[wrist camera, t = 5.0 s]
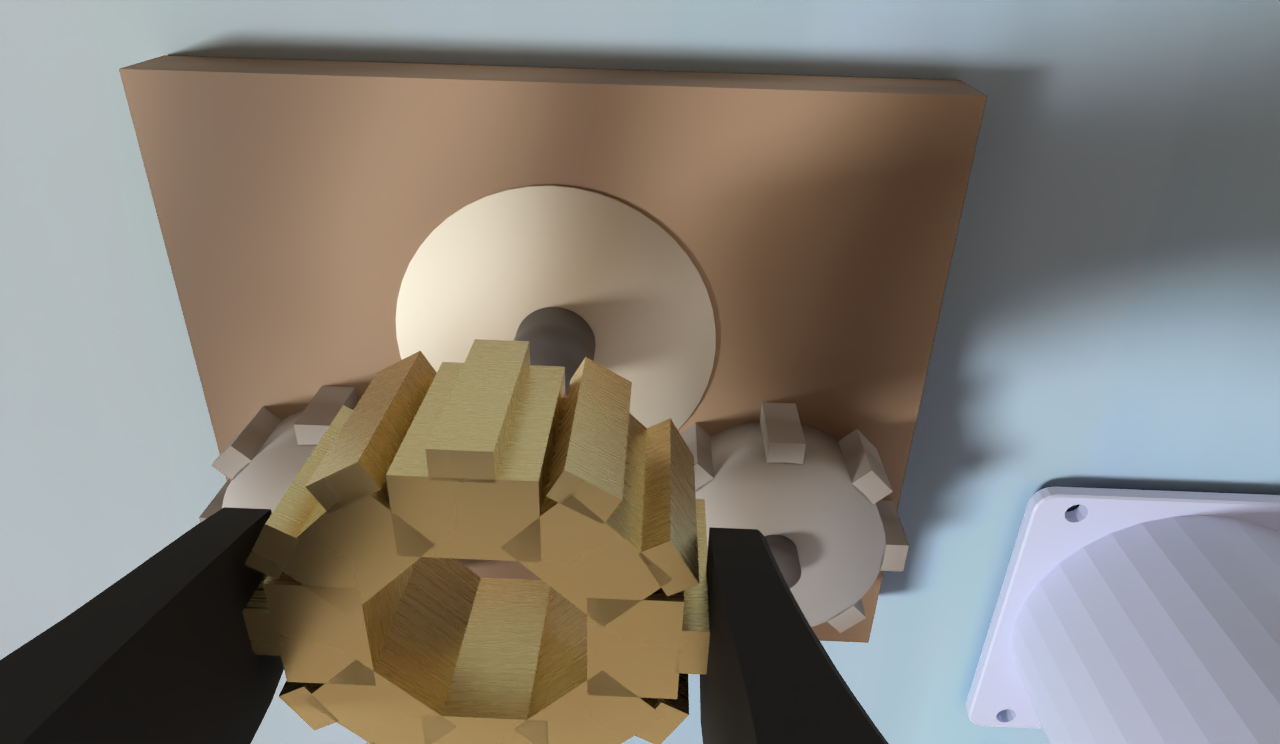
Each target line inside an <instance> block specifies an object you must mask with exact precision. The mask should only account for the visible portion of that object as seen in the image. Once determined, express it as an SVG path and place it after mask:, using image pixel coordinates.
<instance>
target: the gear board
mask: <svg viewBox="0 0 1280 744" xmlns="http://www.w3.org/2000/svg"><path fill="white" fill-rule="evenodd" d="M119 71H120V75H121V79H122V82H123V86H124V90H125V94H126V98H127V101H128V105H129V109H130V113H131V117H132V121H133V124H134V128H135V132H136V136H137V140H138V143H139V147H140V151H141V155H142V159H143V162H144V166H145V170H146V174H147V178H148V182H149V185H150V189H151V193H152V197H153V201H154V204H155V208H156V212H157V216H158V220H159V224H160V227H161V231H162V235H163V239H164V243H165V246H166V250H167V254H168V258H169V262H170V265H171V269H172V273H173V277H174V281H175V285H176V288H177V292H178V296H179V300H180V304H181V307H182V311H183V315H184V319H185V323H186V327H187V330H188V334H189V338H190V342H191V346H192V349H193V353H194V357H195V361H196V365H197V369H198V372H199V376H200V380H201V384H202V388H203V391H204V395H205V399H206V403H207V407H208V410H209V414H210V418H211V422H212V426H213V430H214V433H215V437H216V441H217V445H218V449H219V452H220V456H219V457H218V458H217V459H216V460H215V462H214V463H213V464H212V466H213V467H214V468H216V469H217V470H219V471H220V472H221V473H223V474H224V475H226V479H227V482H226V483H225V485H224V486H223V487H222V489H221V490H220V491H219V493H218V494H217V495H216V496H215V498H214V499H213V500H212V502H211V503H210V504H209V506H208V507H207V508H206V509H205V511H204V512H203V513H202V515H201V516H200V517H199V519H200V522H202V521H204V520H205V519H207V518H208V517H210V516H211V515H213V514H214V513H216V512H218V511H219V510H221V509H222V508H224V507H228V508H252V509H271V511H272V513H273V511H274V510H275V508H276V507H277V505H278V503H279V502H280V500H281V499H282V497H283V496H284V494H285V493H286V491H287V490H288V488H289V487H290V485H291V484H292V482H293V481H294V479H295V478H296V476H297V475H298V473H299V471H300V470H301V468H302V467H303V465H304V464H305V462H306V461H307V459H308V458H309V456H310V455H311V453H312V452H313V450H314V449H315V447H316V446H317V444H318V443H319V441H320V440H321V438H322V436H323V435H324V433H325V432H326V430H327V429H328V427H329V426H330V424H331V423H332V421H333V420H334V418H335V417H336V415H337V414H338V412H339V411H340V409H341V408H342V406H343V405H344V406H346V407H348V408H350V409H352V410H354V408H355V407H356V405H357V404H358V402H359V400H360V399H361V397H362V396H363V394H364V393H365V391H366V389H367V388H368V386H369V385H370V383H371V381H372V380H373V378H374V377H375V375H376V373H377V372H379V371H381V370H383V369H385V368H387V367H389V366H391V365H393V364H395V363H397V362H399V361H401V360H403V359H405V358H407V357H409V356H411V355H413V354H414V353H416V352H418V351H421V352H422V353H423V355H424V356H425V357H426V359H427V360H428V361H429V363H430V364H431V365H432V367H433V368H434V370H435V371H436V372H438V370H439V368H440V366H441V364H442V362H457V363H464V362H465V360H466V358H467V356H468V353H469V351H470V349H471V347H472V345H473V342H474V340H475V339H481V340H507V341H529V346H530V365H535V366H560V367H565V398H566V397H567V394H568V389H569V384H570V380H571V378H572V377H573V375H574V374H575V372H576V371H577V369H578V368H579V366H580V365H581V363H582V362H583V360H584V359H585V357H587V358H589V359H590V360H592V361H594V362H596V363H598V364H600V365H601V366H603V367H605V368H607V369H609V370H610V371H612V372H614V373H616V374H618V375H620V376H621V377H623V378H625V379H627V380H629V381H631V382H632V387H631V399H630V412H629V413H630V414H632V415H633V416H634V417H635V418H636V419H637V420H638V421H639V422H640V423H641V424H643V425H644V426H645V427H646V428H649V427H651V426H653V425H656V424H658V423H660V422H662V421H665V420H667V419H669V418H671V420H672V421H673V423H674V425H675V426H676V428H677V430H678V431H679V433H680V435H681V436H682V438H683V439H684V441H685V443H686V444H687V446H688V448H689V449H690V451H691V453H692V454H693V456H694V471H695V494H696V499H705V514H706V531H707V548H708V540H709V528H710V527H712V528H736V529H758V530H759V531H760V532H761V533H762V534H763V535H764V536H765V537H766V540H767V542H768V545H769V547H770V549H771V552H772V554H773V556H774V558H775V560H776V562H777V565H778V567H779V569H780V571H781V573H782V575H783V577H784V579H785V581H786V583H787V585H788V587H789V588H790V590H791V592H792V594H793V596H794V598H795V600H796V601H797V603H798V605H799V607H800V609H801V611H802V612H803V614H804V616H805V618H806V619H807V621H808V623H809V625H810V626H811V628H812V630H813V631H814V633H815V635H816V636H817V638H818V639H819V640H821V641H845V642H869V637H870V632H871V628H872V623H873V619H874V614H875V609H876V605H877V600H878V595H879V591H880V586H881V582H882V577H883V572H884V571H902V572H903V570H904V565H905V561H906V557H907V552H908V548H909V544H908V542H907V539H906V536H905V533H904V531H903V528H902V525H901V523H900V520H899V517H898V515H897V508H898V503H899V498H900V494H901V489H902V485H903V480H904V475H905V471H906V466H907V462H908V457H909V452H910V448H911V443H912V438H913V434H914V429H915V425H916V420H917V415H918V411H919V406H920V402H921V397H922V392H923V388H924V383H925V378H926V374H927V369H928V365H929V360H930V355H931V351H932V346H933V342H934V337H935V332H936V328H937V323H938V318H939V314H940V309H941V305H942V300H943V295H944V291H945V286H946V282H947V277H948V272H949V268H950V263H951V258H952V254H953V249H954V245H955V240H956V235H957V231H958V226H959V221H960V217H961V212H962V208H963V203H964V198H965V194H966V189H967V185H968V180H969V175H970V171H971V166H972V161H973V157H974V152H975V148H976V143H977V138H978V134H979V129H980V125H981V120H982V115H983V111H984V106H985V101H986V97H987V96H986V95H984V94H982V93H981V92H979V91H977V90H976V89H974V88H972V87H971V86H969V85H967V84H966V83H964V82H962V81H961V80H935V79H903V78H871V77H839V76H807V75H774V74H742V73H710V72H678V71H646V70H613V69H581V68H549V67H517V66H485V65H452V64H420V63H388V62H356V61H324V60H291V59H259V58H227V57H195V56H161V57H158V58H154V59H151V60H148V61H144V62H141V63H137V64H134V65H131V66H127V67H124V68H120V69H119ZM457 560H458V561H459V562H461V563H462V564H463V565H465V566H466V567H467V568H469V569H470V570H471V571H473V572H474V573H475V574H477V575H478V576H479V577H481V578H504V579H528V580H542V579H540V578H539V577H538V576H536V575H535V574H534V573H533V572H531V571H530V570H529V569H527V568H526V567H525V566H524V565H522V564H521V563H520V562H518V561H502V560H478V559H457Z"/></svg>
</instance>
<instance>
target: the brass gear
mask: <svg viewBox="0 0 1280 744" xmlns="http://www.w3.org/2000/svg"><path fill="white" fill-rule="evenodd" d="M631 387H632V382H631V381H629V380H627V379H625V378H623V377H621V376H620V375H618V374H616V373H614V372H612V371H610V370H609V369H607V368H605V367H603V366H601V365H600V364H598V363H596V362H594V361H592V360H590V359H589V358H587V357H585V359H584V360H583V362H582V363H581V365H580V366H579V368H578V369H577V371H576V372H575V374H574V375H573V377H572V378H571V380H570V384H569V389H568V394H567V397H566V398H565V367H560V366H535V365H530V346H529V341H507V340H481V339H475V340H474V342H473V345H472V347H471V349H470V351H469V353H468V356H467V358H466V360H465V362H464V363H457V362H442V364H441V366H440V368H439V370H438V372H436V371H435V370H434V368H433V367H432V365H431V364H430V363H429V361H428V360H427V359H426V357H425V356H424V355H423V353H422V352H421V351H418V352H416V353H414V354H413V355H411V356H409V357H407V358H405V359H403V360H401V361H399V362H397V363H395V364H393V365H391V366H389V367H387V368H385V369H383V370H381V371H379V372H377V373H376V375H375V377H374V378H373V380H372V381H371V383H370V385H369V386H368V388H367V389H366V391H365V393H364V394H363V396H362V397H361V399H360V400H359V402H358V404H357V405H356V407H355V408H354V410H352V409H350V408H348V407H346V406H344V405H343V406H342V408H341V409H340V411H339V412H338V414H337V415H336V417H335V418H334V420H333V421H332V423H331V424H330V426H329V427H328V429H327V430H326V432H325V433H324V435H323V436H322V438H321V440H320V441H319V443H318V444H317V446H316V447H315V449H314V450H313V452H312V453H311V455H310V456H309V458H308V459H307V461H306V462H305V464H304V465H303V467H302V468H301V470H300V471H299V473H298V475H297V476H296V478H295V479H294V481H293V482H292V484H291V485H290V487H289V488H288V490H287V491H286V493H285V494H284V496H283V497H282V499H281V500H280V502H279V503H278V505H277V507H276V508H275V510H274V511H273V513H272V514H271V516H270V517H269V519H268V520H267V522H266V523H265V525H264V527H263V529H262V531H261V533H260V535H259V537H258V539H257V541H256V543H255V545H254V547H253V549H252V551H251V553H250V555H249V557H248V559H247V561H246V563H245V566H247V567H250V568H252V569H254V570H257V571H259V572H261V573H263V574H265V576H264V578H263V579H262V581H261V583H260V584H259V586H258V588H257V589H256V591H255V593H254V594H253V596H252V597H251V599H250V601H249V602H248V604H247V606H246V607H245V609H244V610H243V611H242V613H243V617H244V620H245V624H246V628H247V631H248V635H249V639H250V642H251V646H252V650H253V653H254V655H273V656H281V659H282V662H283V666H284V670H285V674H286V678H287V681H286V683H285V685H284V687H283V689H282V691H281V693H280V695H279V697H280V698H281V699H282V700H283V701H284V702H285V703H286V704H287V705H288V706H289V707H290V708H291V709H293V710H294V711H295V712H296V713H297V714H298V715H299V716H300V717H301V718H302V719H303V720H304V721H305V722H306V723H307V724H308V725H309V726H310V727H312V728H313V729H314V730H316V729H319V728H322V727H324V726H327V725H330V724H332V723H335V722H337V723H339V724H341V725H342V726H344V727H345V728H347V729H349V730H350V731H352V732H353V733H355V734H357V735H358V736H360V737H361V738H363V739H364V740H366V741H367V744H621V743H623V742H625V741H626V740H628V739H629V738H631V737H633V736H634V735H635V736H637V737H640V738H642V739H644V740H646V741H649V742H651V743H653V744H661V743H662V742H663V741H664V740H665V739H666V738H667V737H668V736H669V735H670V734H671V733H672V732H673V731H674V730H675V729H676V728H677V726H678V725H679V724H680V723H681V722H682V721H683V720H684V719H685V718H686V717H687V716H688V715H689V700H688V674H706V673H707V662H708V651H709V640H710V628H709V611H708V593H707V574H706V564H707V552H708V548H707V531H706V514H705V499H696V494H695V471H694V456H693V454H692V453H691V451H690V449H689V448H688V446H687V444H686V443H685V441H684V439H683V438H682V436H681V435H680V433H679V431H678V430H677V428H676V426H675V425H674V423H673V421H672V420H671V418H669V419H667V420H665V421H662V422H660V423H658V424H656V425H653V426H651V427H649V428H646V427H645V426H644V425H643V424H641V423H640V422H639V421H638V420H637V419H636V418H635V417H634V416H633V415H632V414H630V413H629V412H630V399H631ZM457 559H478V560H502V561H518V562H520V563H521V564H522V565H524V566H525V567H526V568H527V569H529V570H530V571H531V572H533V573H534V574H535V575H536V576H538V577H539V578H540V579H542V580H528V579H504V578H481V577H479V576H478V575H477V574H475V573H474V572H473V571H471V570H470V569H469V568H467V567H466V566H465V565H463V564H462V563H461V562H459V561H458V560H457Z"/></svg>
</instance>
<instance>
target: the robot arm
mask: <svg viewBox="0 0 1280 744" xmlns="http://www.w3.org/2000/svg"><path fill="white" fill-rule="evenodd" d="M1079 504H1080V505H1079ZM1073 505H1079V507H1078V508H1077V509H1075V510H1073V511H1070V512H1066V511H1067V509H1068V508H1070V507H1072V506H1073ZM271 514H272V511H271V509H252V508H228V507H224V508H222V509H221V510H219V511H218V512H216V513H214V514H213V515H211V516H210V517H208V518H207V519H205V520H204V521H202V522H201V523H199V524H198V525H196V526H195V527H193V528H192V529H191V530H189V531H188V532H186V533H185V534H183V535H182V536H181V537H179V538H178V539H176V540H175V541H174V542H172V543H171V544H169V545H168V546H167V547H165V548H164V549H162V550H161V551H160V552H158V553H157V554H155V555H154V556H153V557H151V558H150V559H148V560H147V561H146V562H144V563H143V564H141V565H140V566H139V567H137V568H136V569H134V570H133V571H132V572H130V573H129V574H127V575H126V576H124V577H123V578H122V579H120V580H119V581H117V582H116V583H114V584H113V585H112V586H110V587H109V588H107V589H106V590H104V591H103V592H102V593H100V594H99V595H97V596H96V597H94V598H93V599H92V600H90V601H89V602H87V603H86V604H84V605H83V606H82V607H80V608H79V609H77V610H76V611H74V612H73V613H72V614H70V615H69V616H67V617H66V618H64V619H63V620H61V621H60V622H58V623H57V624H55V625H54V626H52V627H51V628H49V629H47V630H46V631H44V632H43V633H41V634H40V635H38V636H37V637H35V638H34V639H32V640H31V641H29V642H28V643H26V644H25V645H23V646H21V647H20V648H18V649H17V650H15V651H14V652H12V653H11V654H9V655H8V656H6V657H5V658H3V659H2V660H0V744H250V743H251V741H252V739H253V737H254V735H255V733H256V732H257V730H258V728H259V726H260V724H261V722H262V720H263V718H264V716H265V714H266V712H267V709H268V707H269V705H270V703H271V701H272V699H273V696H274V693H275V691H276V688H277V686H278V683H279V680H280V678H281V675H282V672H283V670H284V666H283V662H282V659H281V656H273V655H254V653H253V650H252V646H251V642H250V639H249V635H248V631H247V628H246V624H245V620H244V617H243V613H242V611H243V610H244V609H245V607H246V606H247V604H248V602H249V601H250V599H251V597H252V596H253V594H254V593H255V591H256V589H257V588H258V586H259V584H260V583H261V581H262V579H263V578H264V576H265V574H263V573H261V572H259V571H257V570H254V569H252V568H250V567H247V566H245V563H246V561H247V559H248V557H249V555H250V553H251V551H252V549H253V547H254V545H255V543H256V541H257V539H258V537H259V535H260V533H261V531H262V529H263V527H264V525H265V523H266V522H267V520H268V519H269V517H270V516H271ZM706 574H707V593H708V611H709V628H710V640H709V651H708V662H707V673H706V674H700V703H701V727H702V736H703V744H888V742H887V741H886V740H885V738H884V737H883V736H882V734H881V733H880V732H879V730H878V729H877V727H876V726H875V725H874V723H873V722H872V720H871V719H870V717H869V716H868V715H867V713H866V712H865V710H864V709H863V707H862V706H861V705H860V703H859V702H858V700H857V699H856V697H855V696H854V695H853V693H852V692H851V690H850V689H849V687H848V686H847V684H846V682H845V681H844V679H843V678H842V676H841V675H840V673H839V672H838V670H837V669H836V667H835V666H834V664H833V662H832V661H831V659H830V657H829V656H828V654H827V652H826V651H825V649H824V648H823V646H822V644H821V643H820V641H819V639H818V638H817V636H816V635H815V633H814V631H813V630H812V628H811V626H810V625H809V623H808V621H807V619H806V618H805V616H804V614H803V612H802V611H801V609H800V607H799V605H798V603H797V601H796V600H795V598H794V596H793V594H792V592H791V590H790V588H789V587H788V585H787V583H786V581H785V579H784V577H783V575H782V573H781V571H780V569H779V567H778V565H777V562H776V560H775V558H774V556H773V554H772V552H771V549H770V547H769V545H768V542H767V540H766V537H765V536H764V535H763V534H762V533H761V532H760V531H759V530H758V529H736V528H712V527H710V528H709V540H708V552H707V564H706ZM966 711H967V714H968V716H969V718H970V720H971V722H973V723H975V724H976V725H981V726H993V727H1017V728H1040V729H1043V730H1044V733H1045V735H1046V737H1047V739H1048V741H1049V744H1280V495H1263V494H1237V493H1211V492H1185V491H1159V490H1133V489H1106V488H1080V487H1046V488H1044V489H1041V490H1039V491H1037V492H1036V493H1035V494H1034V495H1032V496H1031V498H1030V500H1029V502H1028V504H1027V507H1026V511H1025V514H1024V517H1023V520H1022V523H1021V527H1020V530H1019V533H1018V536H1017V540H1016V543H1015V546H1014V549H1013V553H1012V556H1011V559H1010V562H1009V565H1008V569H1007V572H1006V575H1005V578H1004V582H1003V585H1002V588H1001V591H1000V595H999V598H998V601H997V604H996V607H995V611H994V614H993V617H992V620H991V624H990V627H989V630H988V633H987V637H986V640H985V643H984V646H983V649H982V653H981V656H980V659H979V662H978V666H977V669H976V672H975V675H974V678H973V682H972V685H971V688H970V691H969V695H968V698H967V701H966Z"/></svg>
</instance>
